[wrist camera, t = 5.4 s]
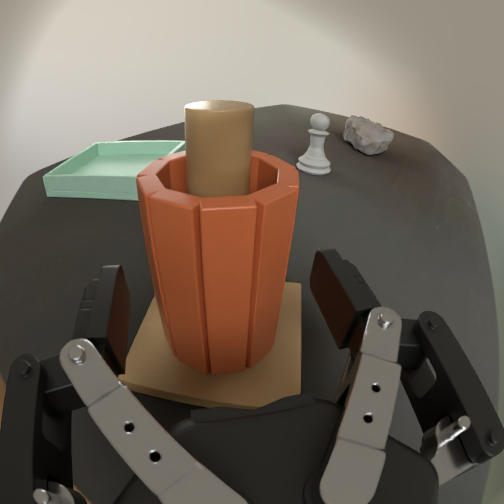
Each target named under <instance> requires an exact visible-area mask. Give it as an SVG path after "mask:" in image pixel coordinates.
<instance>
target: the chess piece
mask: <svg viewBox="0 0 504 504" xmlns="http://www.w3.org/2000/svg"><path fill="white" fill-rule="evenodd" d="M329 122H330V121H329V118H328V117H327V116H326V115H324V114H322V113H318V114H314V115H312V117H311V119H310V123H311V126H312V127H313V128H314V129H309V130H308V131H309V133H310V134H311V138H310V146H309V148H308V150H307V152H306V153H304V155H303V156H300V157H299V158H298V159H299V162H298V163H297V167H298V169H299V170H300V171H302V172H304V173H307V174H312V175H326V174H328V173H329V172H330V168H329V166H330V162H329V161H328V160H327V159H326V156H325V155H324V150H323V146H324V141H325V137H326V136H327V135H329V133H328V132H326V131H324V130H326V129H327V128H328V126H329Z"/></svg>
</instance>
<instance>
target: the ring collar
mask: <svg viewBox="0 0 504 504" xmlns="http://www.w3.org/2000/svg"><path fill="white" fill-rule="evenodd" d="M136 186H137V193H138V201H139V208H140V215H141V221H142V228H143V234H144V240H145V245H146V251H147V257H148V262H149V267H150V272H151V277H152V282H153V287H154V291H155V296H156V301H157V305H158V309H159V314H160V318H161V322H162V326H163V330H164V334H165V337H166V339H167V341H168V343H169V346H170V348H171V350H172V352H173V354H174V356H175V357H178V360H179V361H181V362H183V363H185V364H187V365H189V366H191V367H193V368H195V369H197V370H199V371H201V372H203V373H206V374H207V373H208V371H209V370H210V369H211V374H212V375H214V374H223V373H232V372H240V371H245V367H246V366H247V367H248V368H249V369H250V368H252V367H253V366H254V365H255V364H256V363H257V362H258V361H260V360H261V359H262V358H263V357H264V356H265V355H266V354H267V353H269V352H270V351H271V350H272V346H273V345H274V341H275V336H276V330H277V325H278V319H279V314H280V308H281V302H282V296H283V291H284V285H285V279H286V273H287V267H288V260H289V254H290V248H291V241H292V235H293V228H294V222H295V215H296V208H297V201H298V194H299V175H298V170H295V167H293V166H291V165H290V164H288V163H286V162H284V161H283V160H281V159H279V158H277V157H275V156H274V155H270V156H268V154H267V153H263V152H258V151H252V153H251V170H250V187H249V195H243V196H223V197H205V198H202V197H198V196H194V195H190V194H187V180H186V153H185V151H181V152H178V153H174V154H171V155H167V156H164V157H161V158H158V160H153V161H152V162H151V163H150V164H148V165H147V166H146V167H145V168H144V169H143V170H142V171H141V172H139V173H138V174H137V178H136Z"/></svg>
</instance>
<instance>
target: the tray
mask: <svg viewBox="0 0 504 504" xmlns="http://www.w3.org/2000/svg"><path fill="white" fill-rule="evenodd" d="M181 151H185V141H112V142H96V143H94V144H92V145H91V146H89V147H88V148H86V149H84V150H83V151H81V152H79V153H78V154H76V155H74V156H73V157H71V158H70V159H68V160H67V161H65V162H63V163H62V164H60V165H59V166H57V167H56V168H54V169H53V170H51V171H50V172H49V173H47V174H46V175H44V176H43V182H44V186H45V190H46V194H47V197H74V198H99V199H119V200H136V201H138V193H137V186H136V178H137V174H138V173H139V172H141V171H142V170H143V169H144V168H145V167H146V166H147V165H148V164H150V163H151V162H152V161H153V160H158V158H161V157H164V156H167V155H171V154H174V153H178V152H181Z"/></svg>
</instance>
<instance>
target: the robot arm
mask: <svg viewBox="0 0 504 504" xmlns="http://www.w3.org/2000/svg"><path fill="white" fill-rule="evenodd" d="M310 288H311V291H312V294H313V296H314V298H315V300H316V302H317V304H318V306H319V308H320V310H321V312H322V314H323V316H324V318H325V321H326V323H327V325H328V327H329V329H330V331H331V333H332V335H333V338H334V340H335V342H336V344H337V346H338V348H339V350H340V349H344V348H349V349H350V351H351V352H350V354H349V357H348V360H347V363H346V366H345V369H344V372H343V375H342V378H341V381H340V384H339V387H338V390H337V393H336V395H335V397H334V399H333V401H332V402H331V401H327V400H322V399H314V397H313V394H312V391H311V392H307V393H302V394H297V395H292V396H287V397H283V398H281V399H279V400H276V401H274V402H272V403H269V404H267V405H265V406H262V407H260V408H258V409H239V408H229V407H214V408H204V409H193V410H191V417H190V418H187V419H185V420H183V421H180V422H178V423H177V424H175V425H174V426H172V427H171V428H170V429H168V430H167V431H166V430H165V429H164V428H163V427H162V426H161V425H160V424H159V423H158V422H157V421H156V420H155V418H154V417H153V416H152V415H151V414H150V413H149V412H148V411H147V410H146V409H145V407H144V406H143V405H142V404H141V403H140V402H139V401H138V399H137V398H136V397H135V396H134V395H133V393H132V392H131V391H130V390H129V389H128V388H127V386H126V385H125V384H124V383H121V381H120V380H119V379H118V378H117V375H123V374H125V367H126V351H127V338H128V327H129V316H130V294H129V290H128V287H127V283H126V280H125V276H124V272H123V268H122V266H121V265H112V266H103V267H102V270H101V274H100V278H99V279H95V280H92V281H91V282H90V283H89V284H88V286H87V287H86V288H85V291H84V294H83V298H82V302H81V305H80V309H79V313H78V317H77V322H76V326H75V330H74V335H73V339H72V341H70V342H68V343H67V344H66V345H65V346H64V347H63V348H62V350H61V352H60V355H58V356H56V357H52V358H49V359H46V360H43V361H39V360H38V359H37V357H36V356H34V355H32V354H24V355H21V356H19V357H18V358H16V359H15V361H14V362H13V363H12V365H11V368H10V372H9V376H8V382H7V387H6V393H5V399H4V406H3V413H2V421H1V430H0V504H87V502H86V500H85V498H84V497H83V496H82V495H81V494H80V493H79V492H77V491H75V490H74V489H73V476H72V455H71V418H72V410H76V409H79V408H82V407H87V408H86V409H87V411H88V412H89V414H90V416H91V417H92V418H93V420H94V421H95V423H96V424H97V426H98V427H99V428H100V430H101V431H102V433H103V434H104V435H105V437H106V438H107V439H108V441H109V442H110V443H111V444H112V446H113V447H114V448H115V450H116V451H117V452H118V453H119V455H120V456H121V457H122V458H123V459H124V461H125V462H126V463H127V464H128V465H129V467H130V468H131V469H132V470H133V471H134V472H135V474H134V476H133V477H132V478H131V480H130V481H129V482H128V484H127V485H126V486H125V488H124V489H123V491H122V492H121V493H120V495H119V496H118V497H117V499H116V500H115V501H114V503H113V504H437V499H438V490H439V486H440V485H442V484H444V483H445V482H447V481H449V480H450V479H453V478H455V477H457V476H459V475H461V474H463V473H465V472H467V471H469V470H471V469H473V468H475V467H477V466H479V465H481V464H482V463H484V462H486V461H488V460H489V459H491V458H493V457H495V456H496V455H498V454H499V453H500V452H502V450H503V449H504V428H503V426H502V424H501V422H500V420H499V417H498V415H497V413H496V411H495V409H494V407H493V405H492V403H491V401H490V399H489V397H488V395H487V393H486V391H485V389H484V387H483V385H482V383H481V381H480V380H479V378H478V376H477V374H476V372H475V370H474V369H473V367H472V365H471V363H470V362H469V360H468V358H467V356H466V355H465V353H464V351H463V350H462V348H461V346H460V345H459V343H458V341H457V340H456V338H455V336H454V335H453V333H452V332H451V330H450V328H449V327H448V325H447V324H446V322H445V321H444V319H443V318H442V317H441V316H440V315H438V314H437V313H435V312H431V311H425V312H422V313H421V314H420V316H419V317H418V319H417V320H411V319H401V318H400V317H399V315H398V314H397V313H396V312H395V311H393V310H391V309H389V308H386V307H382V306H381V305H380V303H379V302H378V300H377V298H376V297H375V295H374V294H373V292H372V291H371V289H370V288H369V286H368V285H367V283H365V280H364V279H363V277H361V274H360V273H359V271H358V270H357V268H356V267H355V266H354V265H353V264H351V263H350V262H349V261H347V260H342V258H341V257H340V255H339V254H338V252H337V251H336V250H335V249H326V250H317V252H316V254H315V258H314V262H313V267H312V271H311V275H310ZM427 358H428V359H429V360H430V362H431V364H432V366H433V368H434V370H435V372H436V377H437V378H436V380H435V378H434V376H433V374H432V372H431V370H430V368H429V366H428V364H427V362H426V359H427ZM399 380H401V382H402V384H403V387H404V389H405V391H406V393H407V396H408V398H409V400H410V402H411V405H412V407H413V409H414V412H415V414H416V416H417V419H418V421H419V424H420V426H421V428H422V431H423V433H424V435H423V437H422V445H421V447H420V453H419V452H417V451H415V450H413V449H412V448H410V447H408V446H406V445H405V444H403V443H401V442H400V441H398V440H396V439H394V438H393V437H391V436H389V435H388V433H389V429H390V425H391V421H392V416H393V412H394V407H395V402H396V397H397V392H398V386H399Z"/></svg>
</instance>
